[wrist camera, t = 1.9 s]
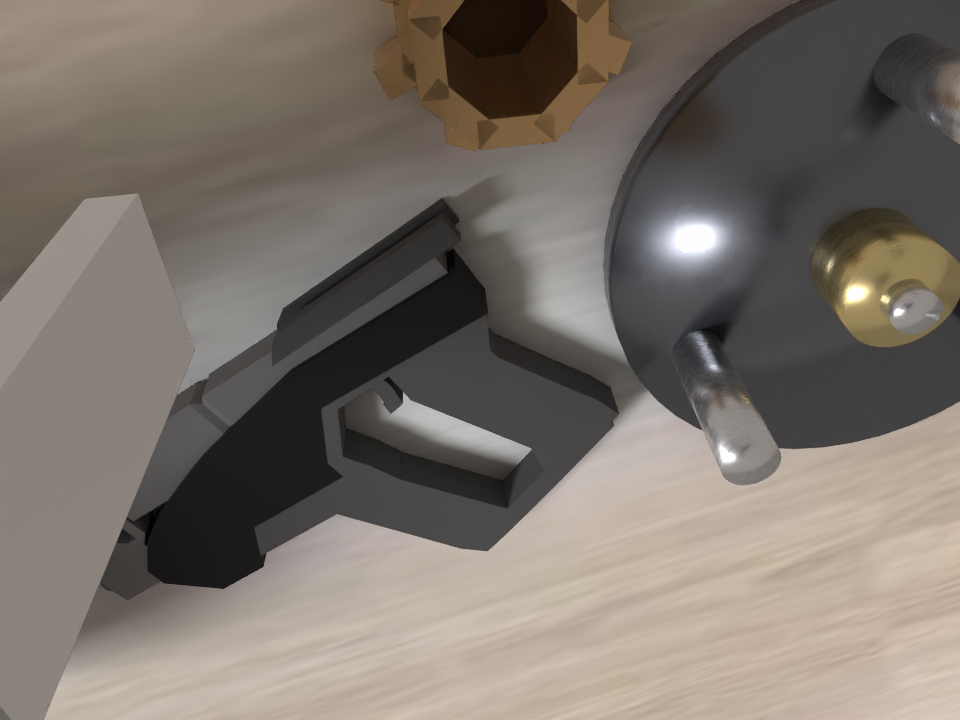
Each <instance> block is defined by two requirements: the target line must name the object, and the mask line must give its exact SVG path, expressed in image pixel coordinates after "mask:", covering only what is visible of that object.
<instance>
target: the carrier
mask: <svg viewBox="0 0 960 720" xmlns="http://www.w3.org/2000/svg"><path fill="white" fill-rule="evenodd" d="M603 268H604V282H605V293H606V298H607V302H608V306H609V311H610V315H611V319H612V321H613V324H614V327H615V330H616V332H617V335H618V338H619V340H620V343H621V345H622V348H623V350H624V352H625V355H626V357H627V360H628V362H629V364H630V365H631V367H632V368H633V370H634V372H635V373H636V375H637V376H638V378H639V380H640V381H641V383H642V384H643V385H644V386H645V387H646V388H647V389H648V391H649V392H650V393H651V394H652V395H653V396H654V397H655V398H656V400H657V401H659V402H660V403H661V404H662V405H664V406H665V407H666V408H667V409H668V410H670V411H671V412H672V413H673V414H675V415H676V416H677V417H679V418H681V419H683V420H684V421H686V422H688V423H689V424H691V425H693V426H694V427H696V428H698V429H701V430H703V432H704V434H705V436H706V438H707V441H708V443H709V445H710V447H711V450H712V452H713V454H714V456H715V459H716V461H717V463H718V466H719V468H720V470H721V472H722V475H723V476H724V478H725V479H726V480H728V481H729V482H731V483H734V484H739V485H749V484H754V483H757V482H760V481H762V480H764V479H766V478H768V477H769V476H770V475H772V474H773V473H774V472H775V471H776V469H777V468H778V466H779V464H780V461H781V453H780V450H779V448H787V449H802V448H818V447H828V446H834V445H841V444H847V443H853V442H857V441H861V440H865V439H869V438H873V437H877V436H881V435H884V434H887V433H889V432H892V431H895V430H898V429H901V428H904V427H907V426H910V425H912V424H914V423H917V422H919V421H921V420H923V419H926V418H928V417H930V416H933V415H935V414H937V413H939V412H941V411H943V410H945V409H946V408H948V407H950V406H952V405H954V404H956V403H958V402H959V401H960V0H802V1H800V2H798V3H796V4H793V5H791V6H789V7H787V8H785V9H783V10H781V11H779V12H778V13H776V14H774V15H773V16H771V17H769V18H768V19H766V20H764V21H762V22H761V23H759V24H757V25H756V26H754V27H752V28H751V29H749V30H747V31H746V32H745V33H743V34H742V35H741V36H739V37H738V38H737V39H736V40H734V41H733V42H732V43H730V44H729V45H728V46H726V47H725V48H724V49H722V50H721V51H720V52H718V53H717V54H716V55H714V56H713V57H712V58H711V59H710V60H709V61H708V62H707V63H706V64H705V65H704V66H703V67H702V68H701V69H700V70H699V71H698V72H696V73H695V74H694V75H693V76H692V77H691V78H690V79H689V80H688V81H687V82H686V83H685V84H684V85H683V86H682V87H681V89H680V90H679V91H678V92H677V93H676V95H675V96H674V97H673V98H672V99H671V101H670V102H669V103H668V104H667V105H666V106H665V108H664V109H663V110H662V111H661V112H660V114H659V115H658V117H657V118H656V120H655V121H654V123H653V124H652V126H651V127H650V129H649V130H648V132H647V133H646V135H645V136H644V138H643V139H642V141H641V142H640V144H639V145H638V147H637V149H636V151H635V153H634V155H633V157H632V159H631V161H630V163H629V165H628V167H627V169H626V171H625V173H624V175H623V178H622V180H621V183H620V186H619V189H618V191H617V194H616V197H615V200H614V203H613V205H612V209H611V214H610V218H609V223H608V227H607V232H606V237H605V250H604V263H603Z"/></svg>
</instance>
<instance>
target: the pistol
mask: <svg viewBox="0 0 960 720" xmlns="http://www.w3.org/2000/svg"><path fill="white" fill-rule="evenodd" d="M458 222H459V218H458V217H457V216H456V214H455V213H454V212H453V211H452V210H451V208H450V207H449V206H448V205H447V203H446V202H445V201H444V200H443V198H442V199H440V200H439V201H437V202H436V203H434V204H433V205H432V206H430V207H429V208H427V209H426V210H424V211H423V212H421V213H420V214H419V215H417V216H416V217H414V218H413V219H411V220H410V221H408V222H407V223H406V224H404V225H403V226H401V227H400V228H398V229H397V230H395V231H394V232H393V233H391V234H390V235H388V236H387V237H385V238H384V239H382V240H381V241H380V242H378V243H377V244H375V245H374V246H372V247H371V248H370V249H368V250H367V251H365V252H364V253H362V254H361V255H359V256H358V257H357V258H355V259H354V260H352V261H351V262H349V263H348V264H346V265H345V266H344V267H342V268H341V269H339V270H338V271H336V272H335V273H333V274H332V275H331V276H329V277H328V278H326V279H325V280H323V281H322V282H321V283H319V284H318V285H316V286H315V287H313V288H312V289H310V290H309V291H308V292H306V293H305V294H303V295H302V296H300V297H299V298H297V299H296V300H295V301H293V302H292V303H290V304H289V305H287V306H286V307H284V308H283V310H282V313H281V315H280V318H279V320H278V323H277V330H276V331H274V332H273V333H271V334H270V335H268V336H267V337H265V338H264V339H262V340H261V341H259V342H258V343H256V344H254V345H253V346H251V347H250V348H248V349H247V350H245V351H244V352H242V353H241V354H239V355H238V356H236V357H235V358H233V359H232V360H230V361H229V362H227V363H226V364H224V365H223V366H221V367H219V368H218V369H216V370H215V371H213V372H212V373H210V374H209V377H208V380H207V383H202V382H197V383H195V384H194V385H192V386H191V387H189V388H187V389H186V390H184V391H183V392H181V393H180V394H178V395H177V396H176V398H175V400H174V403H173V405H172V408H171V410H170V412H169V415H168V417H167V420H166V422H165V425H164V427H163V430H162V432H161V434H160V437H159V439H158V442H157V444H156V447H155V449H154V452H153V454H152V456H151V459H150V461H149V464H148V466H147V469H146V471H145V474H144V476H143V478H142V481H141V483H140V486H139V488H138V491H137V493H136V496H135V498H134V500H133V503H132V505H131V508H130V510H129V513H128V515H127V518H126V520H125V522H124V525H123V527H122V530H121V532H120V535H119V537H118V540H117V542H116V544H115V547H114V549H113V552H112V554H111V557H110V559H109V562H108V564H107V566H106V569H105V571H104V574H103V576H102V579H101V581H100V584H101V585H102V587H104V588H105V589H107V590H110V591H114V592H115V593H117V594H119V595H120V596H122V597H123V598H125V599H126V600H129V599H130V598H132V597H134V596H136V595H137V594H139V593H141V592H143V591H144V590H146V589H148V588H150V587H151V586H153V585H155V584H157V583H158V582H160V581H161V582H163V583H166V584H177V585H188V586H199V587H210V588H220V589H224V588H226V587H228V586H229V585H231V584H233V583H235V582H237V581H239V580H240V579H242V578H244V577H246V576H248V575H249V574H251V573H253V572H255V571H257V570H259V569H260V568H262V567H264V562H265V557H266V553H267V552H269V551H271V550H272V549H274V548H276V547H278V546H280V545H282V544H283V543H285V542H287V541H289V540H291V539H292V538H294V537H296V536H298V535H300V534H301V533H303V532H305V531H307V530H309V529H310V528H312V527H314V526H316V525H318V524H319V523H321V522H323V521H325V520H327V519H329V518H330V517H332V516H334V515H336V514H339V515H343V516H346V517H350V518H354V519H357V520H361V521H364V522H368V523H371V524H375V525H379V526H382V527H386V528H389V529H393V530H397V531H400V532H404V533H407V534H411V535H414V536H418V537H422V538H425V539H429V540H432V541H436V542H440V543H443V544H447V545H450V546H454V547H457V548H462V549H471V550H481V551H488V550H489V549H491V548H492V547H493V546H494V545H495V544H496V543H497V542H498V541H499V540H500V539H501V538H502V537H504V536H505V535H506V534H507V533H508V532H509V531H510V530H511V529H512V528H513V527H514V526H515V525H516V524H517V523H518V522H519V521H520V520H521V519H522V518H523V517H524V516H525V515H526V514H527V513H528V512H529V511H530V510H531V509H532V508H533V507H534V506H535V505H536V504H537V503H538V502H539V501H540V500H541V499H542V498H543V497H544V496H545V495H546V494H547V493H548V492H549V491H550V490H551V489H552V488H553V487H554V486H555V485H556V484H557V483H558V482H559V481H560V480H561V479H562V478H563V477H564V476H565V475H566V474H567V473H568V472H569V471H570V470H571V469H572V468H573V467H574V466H575V465H576V464H577V463H578V462H579V461H580V460H581V459H582V458H583V457H584V456H585V455H586V454H587V453H588V452H589V451H590V450H591V449H592V448H593V447H594V446H595V445H596V444H597V443H598V441H599V440H600V439H601V438H602V437H603V436H604V435H605V434H606V433H607V432H608V431H609V430H610V429H611V428H612V427H613V426H614V424H613V420H614V419H615V418H616V417H617V416H618V415H619V412H618V409H617V406H616V403H615V400H614V397H613V394H612V391H611V388H610V387H609V386H607V385H605V384H604V383H602V382H600V381H599V380H597V379H595V378H594V377H592V376H590V375H588V374H586V373H583V372H581V371H578V370H576V369H574V368H571V367H569V366H566V365H564V364H562V363H559V362H557V361H555V360H553V359H550V358H548V357H546V356H544V355H541V354H539V353H537V352H535V351H533V350H530V349H528V348H526V347H524V346H521V345H519V344H517V343H515V342H512V341H510V340H508V339H506V338H504V337H501V336H499V335H497V334H495V333H493V332H492V331H491V329H490V328H489V327H488V319H487V314H488V308H487V301H486V294H485V288H484V287H483V286H482V285H481V284H480V282H479V281H478V280H477V278H476V277H475V276H474V275H473V273H472V272H471V271H470V269H469V268H468V267H467V265H466V264H465V263H464V262H463V260H462V259H461V258H460V256H459V255H458V254H457V252H456V251H455V250H454V249H453V250H451V251H449V252H448V253H446V252H445V251H446V250H447V249H449V248H450V247H452V246H453V245H455V244H456V243H458V242H459V241H461V236H460V232H459V231H458V230H457V228H456V227H455V224H457V223H458ZM370 388H371V389H373V390H374V391H375V392H376V393H377V394H378V395H379V396H380V397H381V398H382V400H383V401H384V406H385V407H386V408H387V410H388V411H389V412H390V414H391V413H392V412H394V411H395V410H396V409H397V408H398V407H399V406H401V405H402V404H403V392H404V393H405V394H406V395H407V396H408V398H409V399H410V400H412V401H414V402H417V403H419V404H422V405H424V406H427V407H430V408H432V409H435V410H437V411H440V412H442V413H445V414H447V415H450V416H452V417H455V418H457V419H460V420H462V421H465V422H467V423H470V424H472V425H475V426H477V427H480V428H482V429H485V430H487V431H490V432H492V433H495V434H497V435H500V436H502V437H505V438H507V439H510V440H512V441H515V442H517V443H520V444H522V445H525V446H527V447H530V448H532V450H531V451H530V452H529V453H528V454H527V455H526V457H525V458H524V459H523V460H522V461H521V462H520V463H519V464H518V465H517V466H516V467H515V469H514V470H513V471H512V472H511V473H510V474H509V475H508V476H507V477H506V478H505V479H504V481H502V480H499V479H495V478H492V477H488V476H485V475H481V474H477V473H474V472H470V471H467V470H463V469H460V468H456V467H453V466H449V465H446V464H442V463H439V462H435V461H432V460H428V459H424V458H421V457H417V456H414V455H410V454H407V453H403V452H400V451H399V450H397V449H395V448H393V447H391V446H389V445H387V444H385V443H383V442H381V441H378V440H376V439H374V438H372V437H369V436H366V435H363V434H360V433H357V432H355V431H352V430H349V429H346V425H345V416H344V405H345V404H347V403H349V402H350V401H352V400H353V399H355V398H356V397H358V396H359V395H361V394H362V393H364V392H365V391H367V390H369V389H370ZM161 504H162V505H161ZM160 505H161V507H160V509H159V511H158V513H157V516H156V519H155V521H154V520H153V513H154V509H155V508H156V507H158V506H160ZM149 531H151V533H150V536H149V539H148V541H147V546H146V545H145V542H146V539H147V536H148V533H149Z"/></svg>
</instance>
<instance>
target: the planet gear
mask: <svg viewBox="0 0 960 720" xmlns="http://www.w3.org/2000/svg"><path fill="white" fill-rule="evenodd" d="M381 1H384V2H387V3H390V4H393V5H394V11H395V18H396V25H397V32H398V36H397V37H396V38H394V39H392V40H391V41H389V42H387V43H385V44H384V45H382V46H380V47H378V48H377V49H376V55H375V61H374V68H373V72H374V73H375V75H376V77H377V78H378V80H379V82H380V84H381V85H382V87H383V89H384V90H385V92H386V94H387V95H388V97H389V99H390V100H392V99H394V98H396V97H397V96H399V95H401V94H403V93H405V92H406V91H408V90H410V89H412V88H414V87H415V86H417V89H418V97H419V103H421V104H422V105H423V106H425V107H426V108H427V109H428V110H430V111H431V112H432V113H433V114H435V115H436V116H437V117H439V118H440V119H441V120H442V121H444V131H445V143H448V144H452V145H455V146H459V147H462V148H466V149H469V150H473V151H476V148H478V149H479V150H482V149H491V148H500V147H509V146H519V145H528V144H537V143H542V144H543V143H546V142H555V141H556V140H557V139H558V138H559V136H560V135H561V134H562V133H564V132H566V131H568V130H570V129H571V128H570V126H569V125H570V124H571V123H572V122H573V121H574V120H575V118H576V117H577V116H578V115H579V114H580V113H581V112H582V111H583V110H584V108H585V107H586V106H587V105H588V104H589V103H590V102H591V101H592V99H593V98H594V97H595V96H596V95H597V94H598V93H599V92H600V91H601V89H602V88H603V87H604V86H605V85H606V84H607V83H608V82H609V81H608V72H610V73H613V74H616V75H619V74H620V71H621V69H622V66H623V64H624V61H625V59H626V56H627V54H628V52H629V49H630V47H631V44H632V42H631V41H630V40H629V38H628V37H627V36H626V35H625V34H624V32H623V31H622V30H621V29H620V27H619V26H618V25H617V24H616V23H615V22H612V21H609V0H547V12H548V18H547V19H546V21H545V22H544V23H543V24H542V26H541V27H540V28H539V29H538V30H537V32H536V33H535V34H534V35H533V37H532V38H531V39H530V40H529V41H528V43H527V44H526V45H525V46H524V48H523V49H522V50H521V51H520V52H519V53H517V54H508V55H499V56H490V57H481V58H475V57H474V56H473V55H472V54H471V53H470V52H468V51H467V50H466V49H465V48H464V47H462V46H461V45H460V44H459V43H458V42H457V41H455V40H454V39H453V38H452V37H451V36H449V35H448V34H447V33H446V32H445V31H444V30H442V29H443V28H444V26H445V25H446V24H447V22H448V21H449V20H450V18H451V17H452V16H453V14H454V13H455V12H456V10H457V9H458V8H459V7H460V5H461V4H462V3H463V1H464V0H381Z"/></svg>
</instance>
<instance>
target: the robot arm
mask: <svg viewBox="0 0 960 720" xmlns="http://www.w3.org/2000/svg"><path fill="white" fill-rule="evenodd" d="M194 351H195V349H194V346H193V343H192V341H191V338H190V335H189V332H188V330H187V327H186V324H185V321H184V319H183V316H182V313H181V310H180V308H179V305H178V302H177V299H176V297H175V294H174V291H173V288H172V286H171V283H170V280H169V277H168V275H167V272H166V269H165V266H164V264H163V261H162V258H161V255H160V253H159V250H158V247H157V244H156V242H155V239H154V236H153V234H152V231H151V228H150V225H149V223H148V220H147V217H146V214H145V212H144V209H143V206H142V203H141V201H140V198H139V195H138V193H136V194H126V195H117V196H107V197H98V198H88V199H84V200H83V202H82V203H81V204H80V205H79V207H78V208H77V209H76V210H75V211H74V213H73V214H72V215H71V216H70V218H69V219H68V220H67V221H66V222H65V224H64V225H63V226H62V227H61V229H60V230H59V231H58V232H57V233H56V235H55V236H54V237H53V238H52V239H51V241H50V242H49V243H48V244H47V246H46V247H45V248H44V249H43V250H42V252H41V253H40V254H39V255H38V257H37V258H36V259H35V260H34V261H33V263H32V264H31V265H30V266H29V268H28V269H27V270H26V271H25V272H24V274H23V275H22V276H21V277H20V279H19V280H18V281H17V282H16V283H15V285H14V286H13V287H12V288H11V290H10V291H9V292H8V293H7V294H6V296H5V297H4V298H3V299H2V301H1V302H0V720H44V718H45V715H46V713H47V711H48V708H49V706H50V703H51V701H52V698H53V696H54V693H55V691H56V689H57V686H58V684H59V681H60V679H61V676H62V674H63V671H64V669H65V667H66V664H67V662H68V659H69V657H70V654H71V652H72V649H73V647H74V645H75V642H76V640H77V637H78V635H79V632H80V630H81V627H82V625H83V623H84V620H85V618H86V615H87V613H88V610H89V608H90V605H91V603H92V601H93V598H94V596H95V593H96V591H97V588H98V586H99V583H100V581H101V579H102V576H103V574H104V571H105V569H106V566H107V564H108V562H109V559H110V557H111V554H112V552H113V549H114V547H115V544H116V542H117V540H118V537H119V535H120V532H121V530H122V527H123V525H124V522H125V520H126V518H127V515H128V513H129V510H130V508H131V505H132V503H133V500H134V498H135V496H136V493H137V491H138V488H139V486H140V483H141V481H142V478H143V476H144V474H145V471H146V469H147V466H148V464H149V461H150V459H151V456H152V454H153V452H154V449H155V447H156V444H157V442H158V439H159V437H160V434H161V432H162V430H163V427H164V425H165V422H166V420H167V417H168V415H169V412H170V410H171V408H172V405H173V403H174V400H175V398H176V395H177V393H178V390H179V388H180V386H181V383H182V381H183V378H184V376H185V373H186V371H187V368H188V366H189V364H190V361H191V359H192V356H193V354H194Z"/></svg>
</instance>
